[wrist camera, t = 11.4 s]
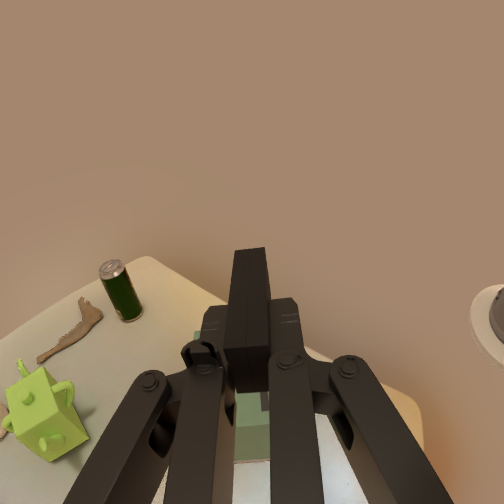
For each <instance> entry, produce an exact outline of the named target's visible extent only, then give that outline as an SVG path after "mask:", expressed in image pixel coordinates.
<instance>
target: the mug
mask: <svg viewBox="0 0 504 504" xmlns="http://www.w3.org/2000/svg"><path fill="white" fill-rule="evenodd" d="M7 415H8V411H7V409H6V407H5V406H4V405H3V404H2V403H1V402H0V439H1V438H2V437H3V436H4V435H5V434H6V432H7V431H6V430H5V429H3V427H2V420H3V419H4V418H5V417H6V416H7Z"/></svg>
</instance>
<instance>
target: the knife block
mask: <svg viewBox="0 0 504 504" xmlns="http://www.w3.org/2000/svg"><path fill="white" fill-rule="evenodd" d="M200 332H201V331H195V333H194V340H197V339H199V337H200ZM235 400H236V404H237V413H236V432H235V452H234V463H248V462H260V461H269V460H270V424H269V392H257V393H240V394H237V392H236V388H235Z"/></svg>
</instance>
